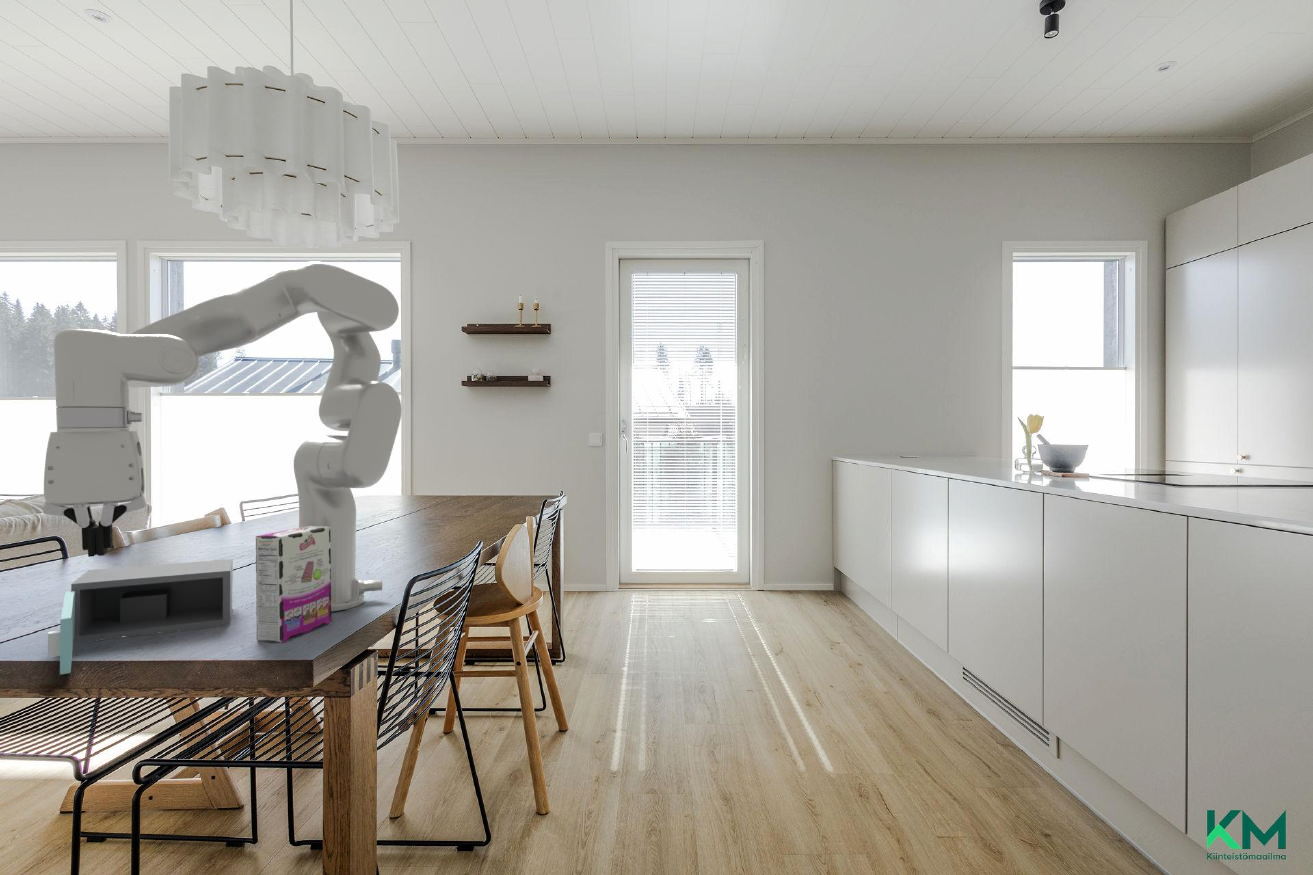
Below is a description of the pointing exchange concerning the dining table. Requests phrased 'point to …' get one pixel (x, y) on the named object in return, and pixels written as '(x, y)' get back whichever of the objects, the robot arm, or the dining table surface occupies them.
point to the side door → (64, 634)
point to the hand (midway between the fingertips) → (98, 554)
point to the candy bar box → (293, 582)
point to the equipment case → (152, 599)
